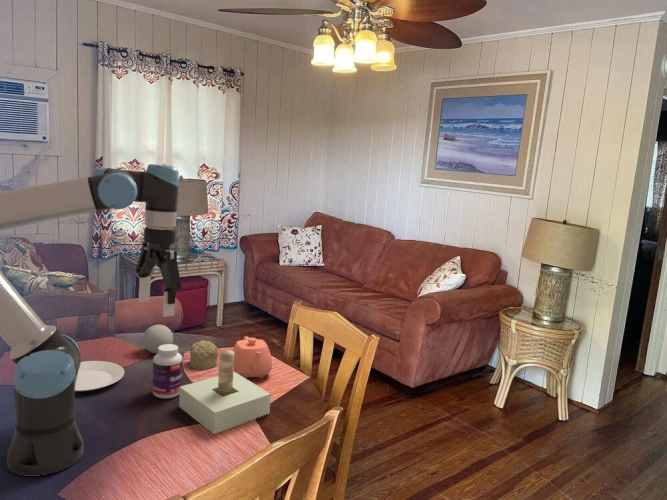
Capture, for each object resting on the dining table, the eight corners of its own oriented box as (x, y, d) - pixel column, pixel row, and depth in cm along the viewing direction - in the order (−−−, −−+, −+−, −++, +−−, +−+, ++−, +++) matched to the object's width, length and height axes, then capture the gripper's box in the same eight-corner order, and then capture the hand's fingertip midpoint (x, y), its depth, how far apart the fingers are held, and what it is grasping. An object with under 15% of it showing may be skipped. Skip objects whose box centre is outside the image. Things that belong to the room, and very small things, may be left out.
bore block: (213, 434, 132) (214, 412, 131) (179, 406, 144) (179, 386, 143) (269, 413, 144) (270, 393, 143) (233, 390, 157) (234, 371, 156)
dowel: (222, 411, 141) (224, 356, 138) (214, 406, 144) (216, 352, 141) (234, 407, 144) (237, 353, 141) (226, 402, 147) (229, 349, 144)
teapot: (236, 390, 157) (238, 352, 155) (225, 364, 175) (226, 330, 173) (278, 386, 162) (281, 349, 160) (263, 361, 180) (265, 328, 178)
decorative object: (218, 376, 173) (228, 348, 177) (200, 368, 165) (211, 338, 169) (197, 371, 178) (207, 344, 181) (179, 363, 170) (190, 334, 173)
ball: (178, 353, 181) (179, 326, 179) (153, 360, 173) (153, 332, 171) (162, 345, 187) (162, 318, 185) (136, 351, 179) (137, 324, 177)
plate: (44, 401, 141) (44, 394, 141) (50, 370, 160) (50, 363, 159) (125, 393, 150) (125, 385, 149) (122, 364, 168) (123, 358, 168)
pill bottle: (172, 402, 146) (174, 354, 144) (146, 397, 148) (147, 350, 145) (186, 390, 154) (187, 344, 151) (161, 385, 155) (162, 340, 153)
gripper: (199, 235, 123) (193, 320, 126) (151, 219, 140) (147, 294, 143) (170, 236, 118) (165, 324, 121) (124, 219, 135) (121, 297, 138)
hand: (155, 308), depth 132 cm, fingers open, 13 cm apart
